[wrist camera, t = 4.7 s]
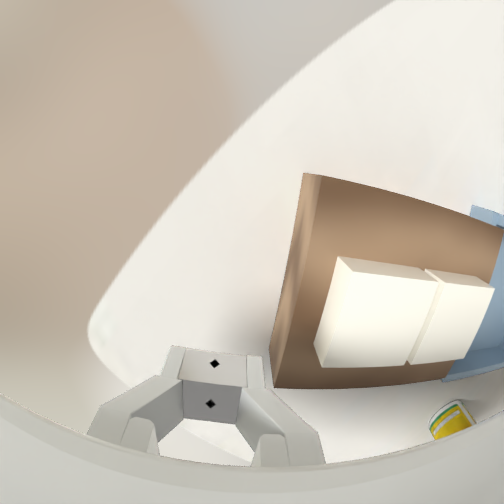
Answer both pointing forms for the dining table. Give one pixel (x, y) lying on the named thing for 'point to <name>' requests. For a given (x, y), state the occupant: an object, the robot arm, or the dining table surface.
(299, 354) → the flat wooden block
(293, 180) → the dining table surface
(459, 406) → the supplement bottle
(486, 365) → the box
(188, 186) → the dining table surface
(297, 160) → the dining table surface
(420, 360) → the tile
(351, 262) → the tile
